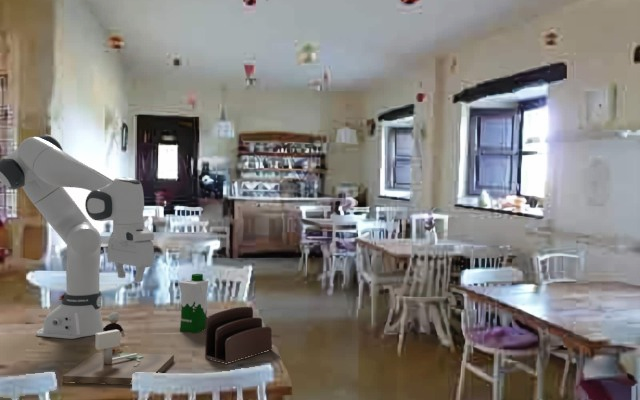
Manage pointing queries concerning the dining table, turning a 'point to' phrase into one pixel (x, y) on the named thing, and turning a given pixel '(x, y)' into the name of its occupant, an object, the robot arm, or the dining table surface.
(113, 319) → the grandmother figurine
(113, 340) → the grey piece
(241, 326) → the letter holder
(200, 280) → the milk carton
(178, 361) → the dining table surface
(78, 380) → the wooden cutting board
